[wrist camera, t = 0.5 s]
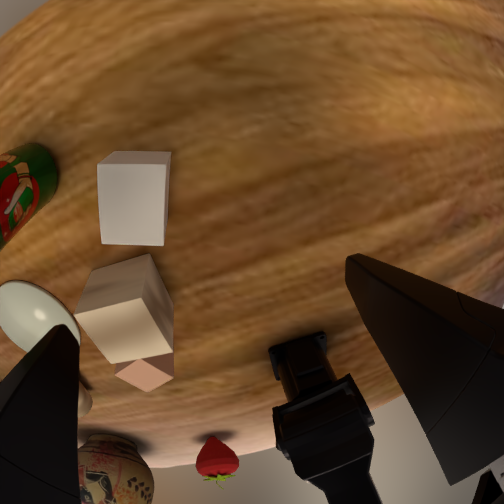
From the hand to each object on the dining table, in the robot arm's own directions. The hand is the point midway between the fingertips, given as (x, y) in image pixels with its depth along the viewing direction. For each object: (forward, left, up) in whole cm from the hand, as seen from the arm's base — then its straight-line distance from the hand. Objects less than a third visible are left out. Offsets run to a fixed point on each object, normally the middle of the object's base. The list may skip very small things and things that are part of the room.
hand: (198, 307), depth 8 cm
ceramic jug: (-38, +31, -13) cm, 51 cm away
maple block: (-7, +8, -13) cm, 17 cm away
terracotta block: (-14, +10, -13) cm, 22 cm away
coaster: (-8, +21, -13) cm, 26 cm away
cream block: (+1, +4, -13) cm, 14 cm away
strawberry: (-40, +11, -13) cm, 44 cm away
